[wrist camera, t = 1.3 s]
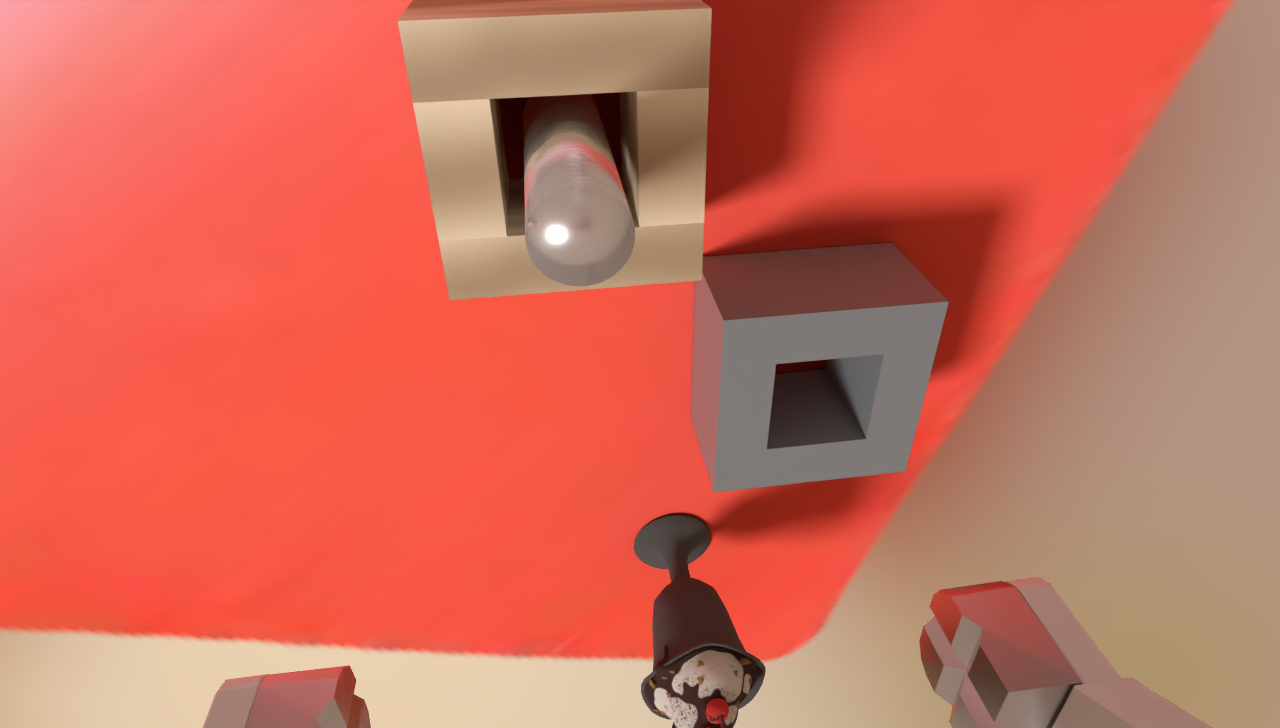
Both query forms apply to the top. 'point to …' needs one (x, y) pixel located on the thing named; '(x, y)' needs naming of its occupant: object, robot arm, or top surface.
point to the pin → (573, 193)
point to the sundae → (692, 635)
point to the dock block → (808, 331)
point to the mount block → (550, 66)
